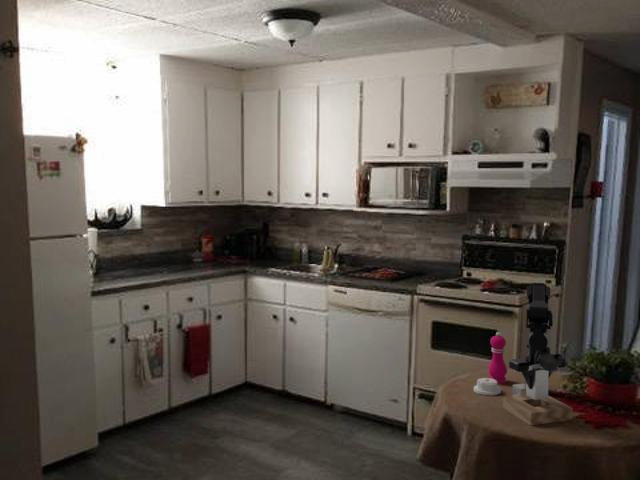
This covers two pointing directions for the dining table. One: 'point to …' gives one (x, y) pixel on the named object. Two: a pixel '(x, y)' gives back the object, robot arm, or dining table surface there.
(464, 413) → the dining table surface
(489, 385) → the mechanical component
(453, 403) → the dining table surface
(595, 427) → the dining table surface
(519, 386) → the grey cube
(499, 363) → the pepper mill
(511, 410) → the hole block
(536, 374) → the grey tall rectangular block
